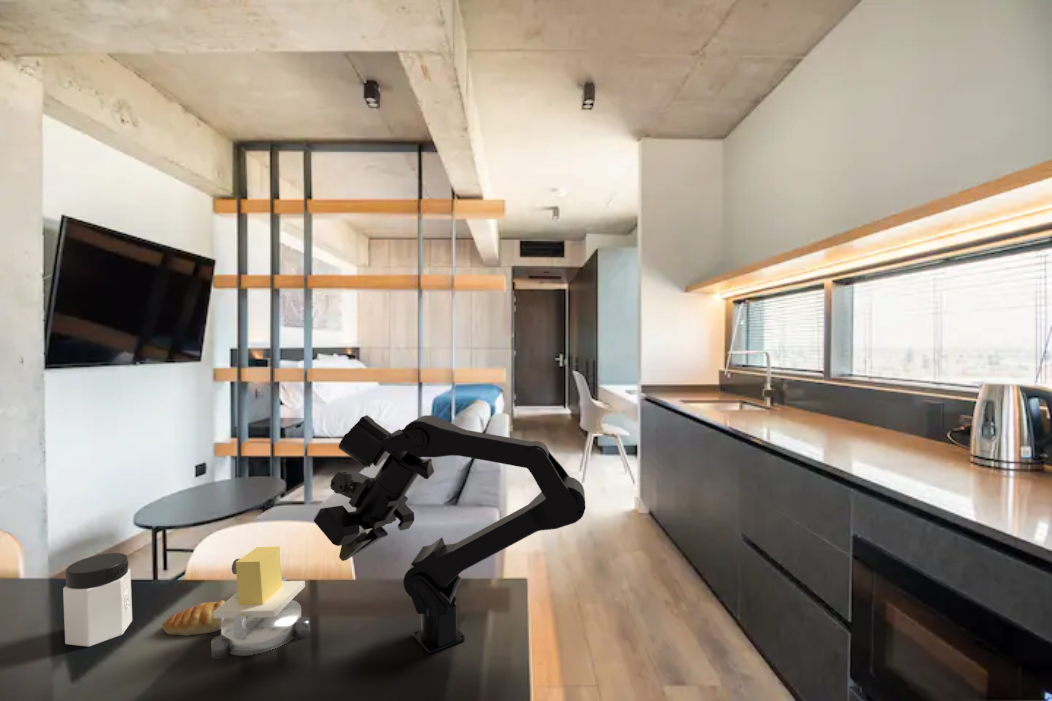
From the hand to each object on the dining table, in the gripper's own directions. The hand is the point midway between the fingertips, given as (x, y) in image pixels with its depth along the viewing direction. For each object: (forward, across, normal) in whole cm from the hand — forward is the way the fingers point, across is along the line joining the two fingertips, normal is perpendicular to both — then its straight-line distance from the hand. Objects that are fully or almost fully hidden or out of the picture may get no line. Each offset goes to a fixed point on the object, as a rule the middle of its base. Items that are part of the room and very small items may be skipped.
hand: (342, 558), depth 88 cm
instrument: (+13, +4, -6) cm, 15 cm away
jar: (+34, +14, -24) cm, 43 cm away
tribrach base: (+18, +3, -3) cm, 18 cm away
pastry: (+25, +6, -13) cm, 29 cm away
